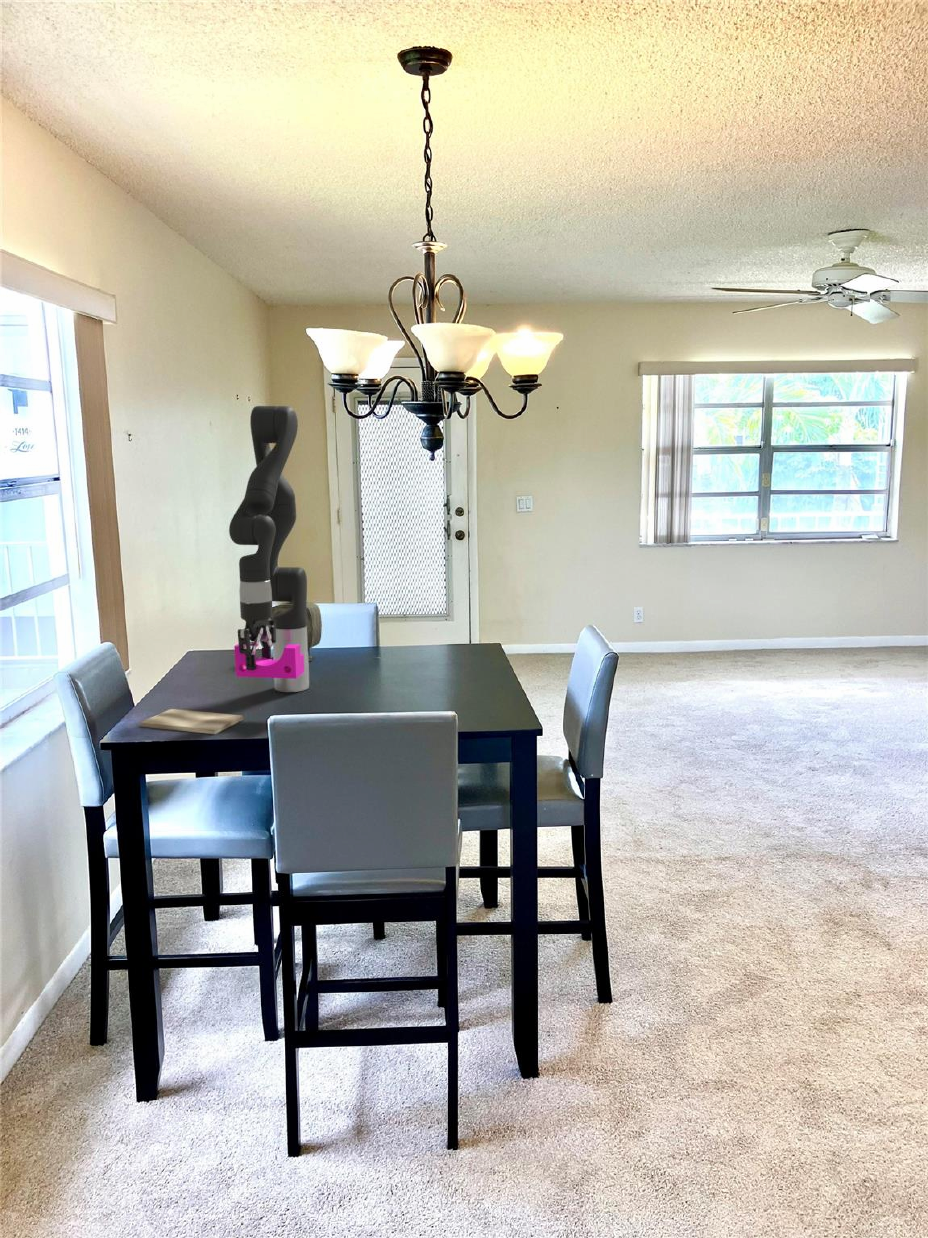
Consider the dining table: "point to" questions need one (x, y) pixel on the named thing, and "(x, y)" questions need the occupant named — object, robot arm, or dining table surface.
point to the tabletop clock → (312, 622)
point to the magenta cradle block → (272, 664)
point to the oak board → (192, 721)
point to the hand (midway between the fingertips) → (259, 666)
